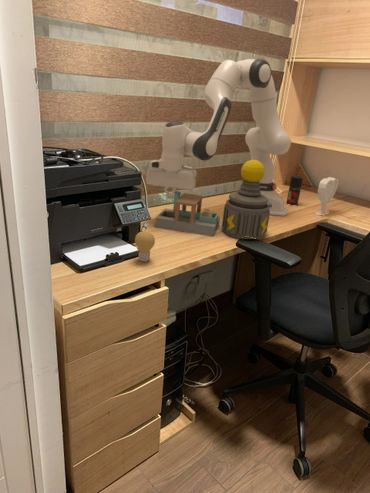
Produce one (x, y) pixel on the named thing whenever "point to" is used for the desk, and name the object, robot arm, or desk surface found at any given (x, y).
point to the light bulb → (144, 244)
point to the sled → (197, 215)
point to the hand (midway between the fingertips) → (169, 197)
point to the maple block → (207, 213)
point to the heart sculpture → (326, 192)
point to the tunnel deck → (186, 223)
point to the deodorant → (294, 190)
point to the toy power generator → (247, 205)
